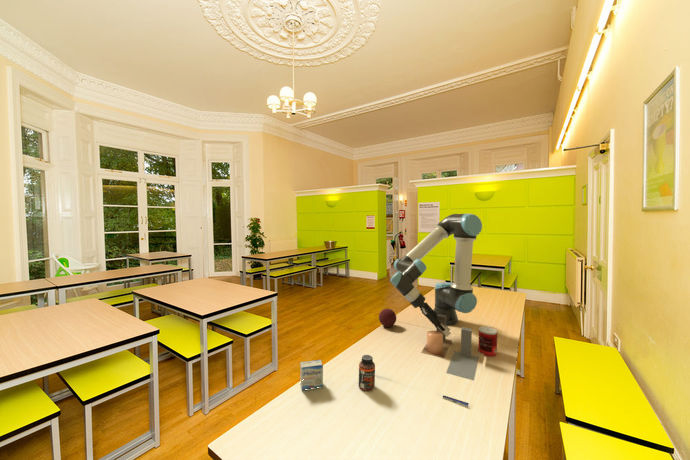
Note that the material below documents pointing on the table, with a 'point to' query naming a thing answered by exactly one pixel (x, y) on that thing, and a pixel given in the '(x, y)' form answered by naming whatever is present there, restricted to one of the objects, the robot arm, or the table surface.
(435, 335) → the peach capsule shape
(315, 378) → the medicine box
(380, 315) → the decorative ball
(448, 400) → the hard drive
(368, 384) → the supplement bottle
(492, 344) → the canned food
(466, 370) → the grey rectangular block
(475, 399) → the table surface
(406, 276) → the robot arm
